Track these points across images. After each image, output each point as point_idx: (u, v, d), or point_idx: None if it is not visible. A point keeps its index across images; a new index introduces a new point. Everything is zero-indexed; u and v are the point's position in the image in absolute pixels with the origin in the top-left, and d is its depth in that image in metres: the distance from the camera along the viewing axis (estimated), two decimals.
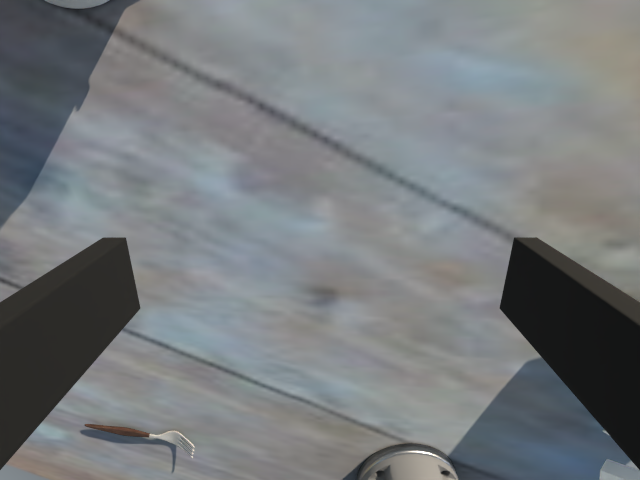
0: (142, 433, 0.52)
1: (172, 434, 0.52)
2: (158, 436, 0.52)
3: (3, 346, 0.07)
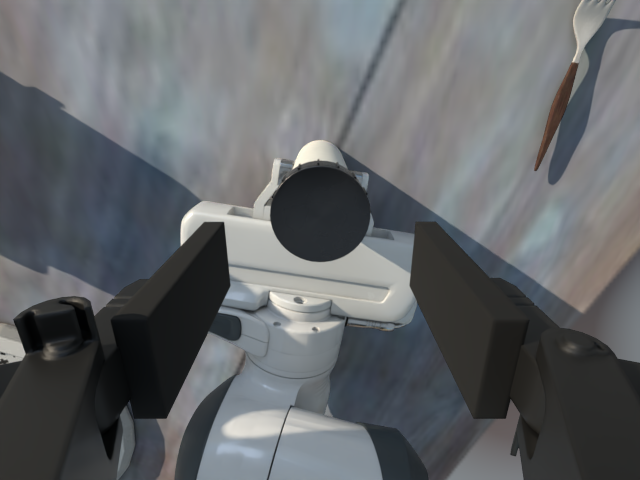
0: (567, 74, 0.30)
1: (581, 19, 0.29)
2: (580, 45, 0.30)
3: (174, 303, 0.09)
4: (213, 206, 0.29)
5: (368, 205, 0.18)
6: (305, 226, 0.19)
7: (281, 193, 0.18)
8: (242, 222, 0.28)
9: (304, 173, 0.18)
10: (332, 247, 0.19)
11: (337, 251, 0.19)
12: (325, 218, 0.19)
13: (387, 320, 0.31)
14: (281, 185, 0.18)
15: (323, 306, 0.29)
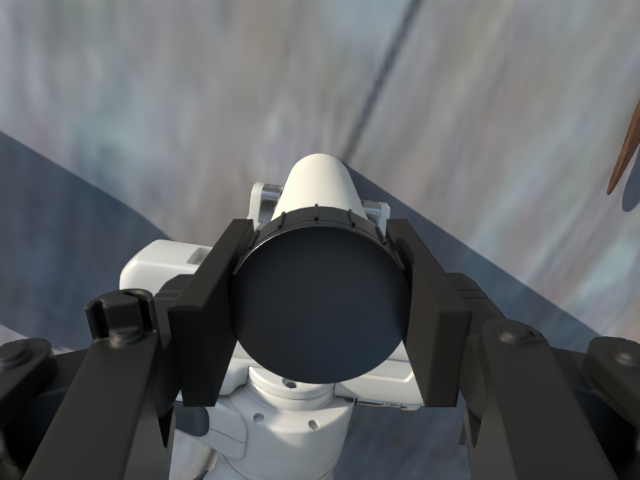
0: None
1: None
2: None
3: (220, 296, 0.09)
4: (170, 250, 0.21)
5: (408, 293, 0.10)
6: (292, 328, 0.10)
7: (247, 273, 0.10)
8: None
9: (289, 238, 0.09)
10: (341, 361, 0.11)
11: (350, 367, 0.11)
12: (329, 315, 0.10)
13: (412, 403, 0.22)
14: (246, 259, 0.10)
15: (324, 389, 0.21)
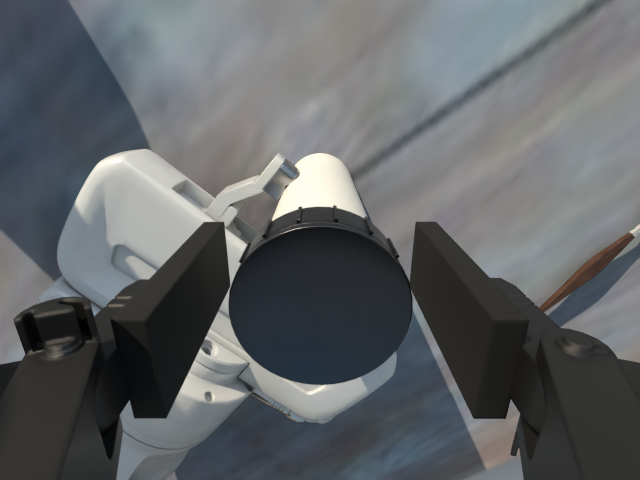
0: (619, 242, 0.26)
1: None
2: None
3: (174, 303, 0.09)
4: (159, 167, 0.19)
5: (354, 233, 0.09)
6: (320, 341, 0.11)
7: (248, 340, 0.11)
8: (187, 211, 0.18)
9: (237, 294, 0.10)
10: (382, 325, 0.10)
11: (395, 322, 0.10)
12: (328, 307, 0.10)
13: (302, 415, 0.23)
14: (236, 333, 0.10)
15: (235, 368, 0.21)
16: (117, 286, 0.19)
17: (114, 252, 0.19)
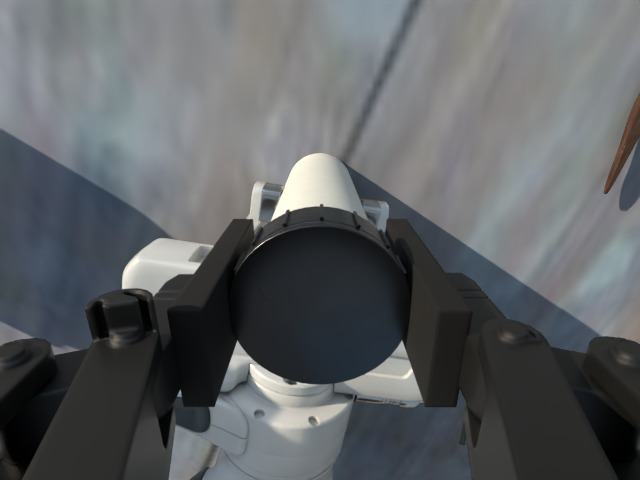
0: None
1: None
2: None
3: (220, 296, 0.09)
4: (172, 248, 0.21)
5: (302, 228, 0.09)
6: (336, 336, 0.10)
7: (275, 366, 0.11)
8: None
9: (241, 331, 0.10)
10: (382, 295, 0.10)
11: (392, 287, 0.10)
12: (323, 304, 0.10)
13: (411, 400, 0.23)
14: (262, 364, 0.11)
15: (324, 385, 0.21)
16: None
17: None
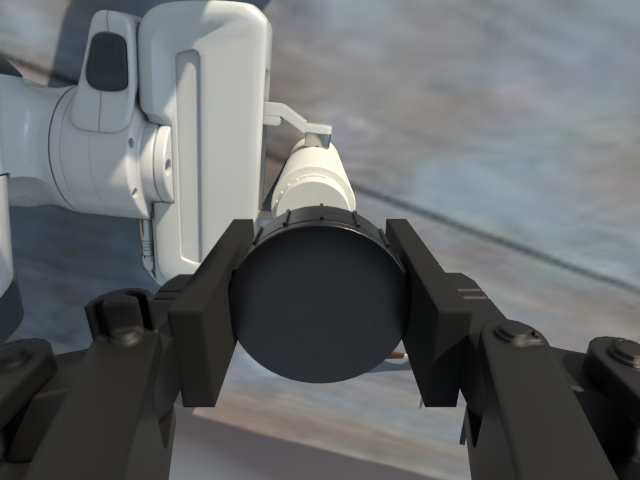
0: (395, 353, 0.39)
1: None
2: None
3: (219, 296, 0.09)
4: (269, 47, 0.24)
5: (302, 228, 0.09)
6: (336, 335, 0.11)
7: (275, 365, 0.11)
8: (259, 90, 0.23)
9: (241, 330, 0.10)
10: (382, 294, 0.10)
11: (392, 286, 0.10)
12: (323, 303, 0.10)
13: (160, 265, 0.27)
14: (262, 363, 0.11)
15: (165, 195, 0.24)
16: (164, 69, 0.22)
17: (187, 51, 0.22)
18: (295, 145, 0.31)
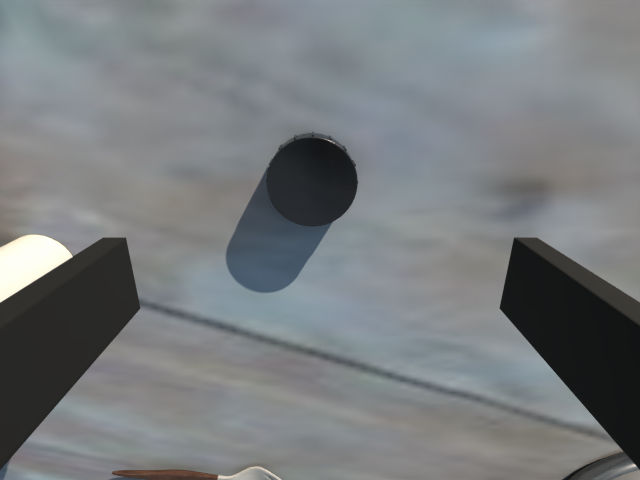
0: (206, 476, 0.32)
1: (254, 472, 0.32)
2: (232, 478, 0.32)
3: (2, 347, 0.07)
4: None
5: (303, 139, 0.20)
6: (321, 197, 0.21)
7: (289, 215, 0.21)
8: None
9: (273, 195, 0.21)
10: (343, 174, 0.20)
11: (347, 169, 0.20)
12: (314, 179, 0.21)
13: None
14: (283, 214, 0.21)
15: None
16: None
17: None
18: None
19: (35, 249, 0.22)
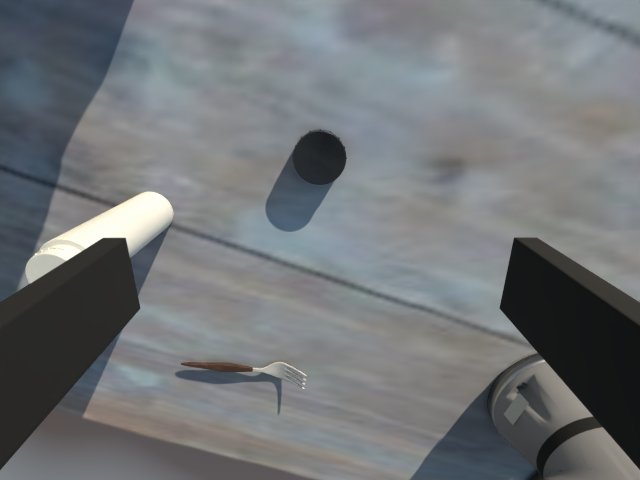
0: (245, 367, 0.46)
1: (277, 366, 0.46)
2: (262, 369, 0.46)
3: (2, 347, 0.07)
4: None
5: (314, 132, 0.35)
6: (324, 166, 0.36)
7: (306, 177, 0.36)
8: None
9: (296, 165, 0.36)
10: (337, 152, 0.35)
11: (340, 150, 0.35)
12: (320, 155, 0.35)
13: None
14: (302, 177, 0.36)
15: None
16: None
17: None
18: None
19: (154, 198, 0.37)
